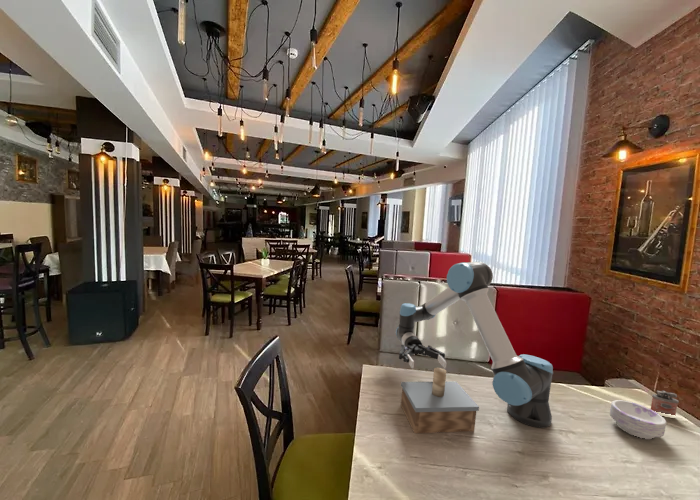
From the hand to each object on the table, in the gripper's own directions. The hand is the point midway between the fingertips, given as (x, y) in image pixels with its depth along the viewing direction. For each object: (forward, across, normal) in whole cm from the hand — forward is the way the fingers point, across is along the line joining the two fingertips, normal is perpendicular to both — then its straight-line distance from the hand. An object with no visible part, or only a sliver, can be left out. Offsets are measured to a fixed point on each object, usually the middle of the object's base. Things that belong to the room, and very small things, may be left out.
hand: (429, 365), depth 125 cm
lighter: (+12, -98, -16) cm, 100 cm away
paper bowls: (+20, -74, -16) cm, 78 cm away
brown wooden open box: (+10, 0, -16) cm, 19 cm away
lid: (+10, 0, -8) cm, 12 cm away
